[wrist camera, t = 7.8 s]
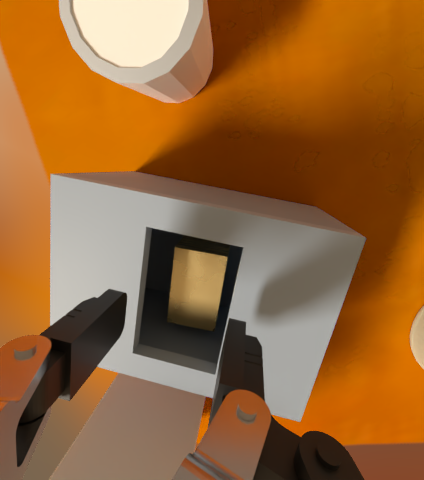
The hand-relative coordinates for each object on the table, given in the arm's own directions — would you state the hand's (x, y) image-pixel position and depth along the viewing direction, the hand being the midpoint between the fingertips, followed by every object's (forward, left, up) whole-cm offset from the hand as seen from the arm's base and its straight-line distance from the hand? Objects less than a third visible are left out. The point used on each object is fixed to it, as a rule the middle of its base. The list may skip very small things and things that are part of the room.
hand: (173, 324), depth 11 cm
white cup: (+5, -13, -11) cm, 18 cm away
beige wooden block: (0, 0, -10) cm, 10 cm away
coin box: (0, 0, -11) cm, 11 cm away
